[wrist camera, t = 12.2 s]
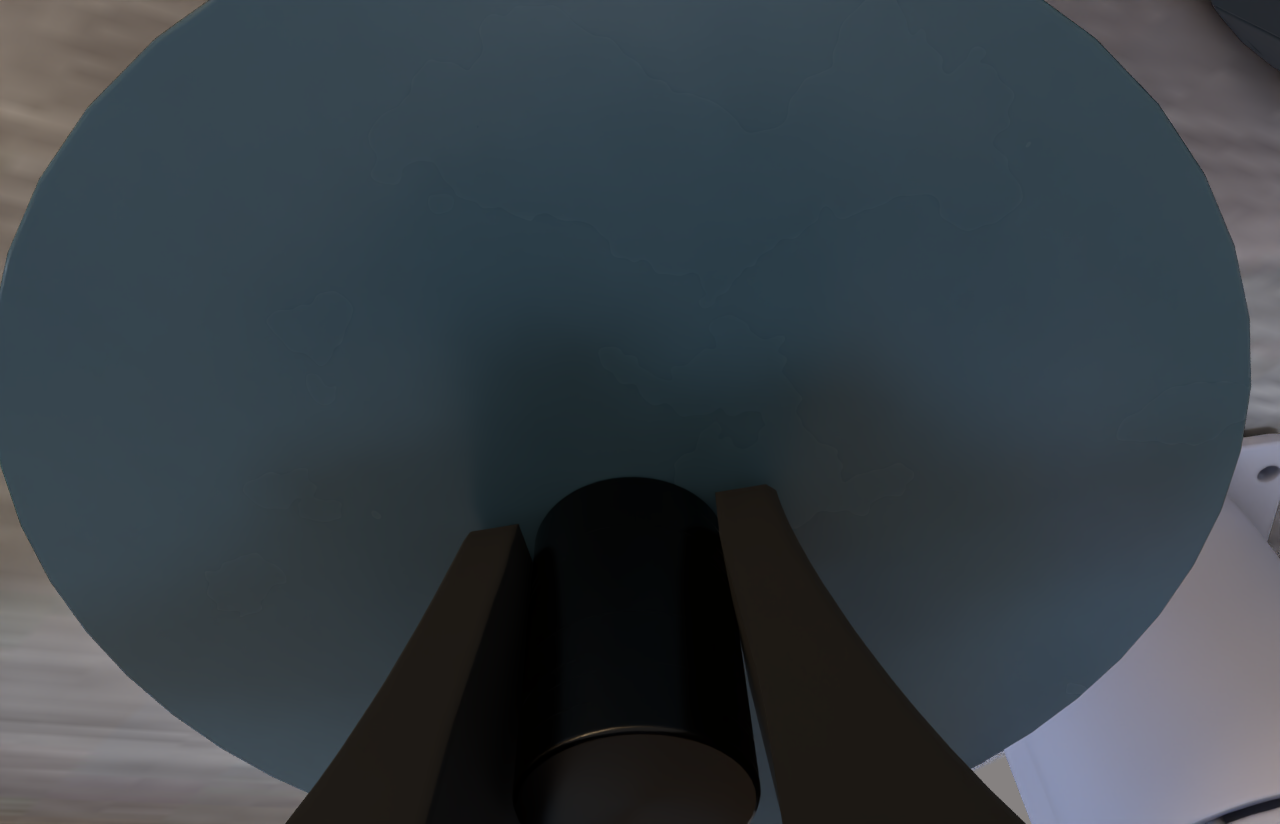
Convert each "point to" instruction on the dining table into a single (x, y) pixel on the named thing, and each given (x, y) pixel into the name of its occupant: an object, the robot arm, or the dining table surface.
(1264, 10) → the pot
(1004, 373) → the lid
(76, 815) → the dining table surface
